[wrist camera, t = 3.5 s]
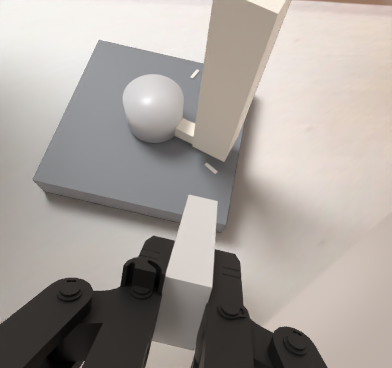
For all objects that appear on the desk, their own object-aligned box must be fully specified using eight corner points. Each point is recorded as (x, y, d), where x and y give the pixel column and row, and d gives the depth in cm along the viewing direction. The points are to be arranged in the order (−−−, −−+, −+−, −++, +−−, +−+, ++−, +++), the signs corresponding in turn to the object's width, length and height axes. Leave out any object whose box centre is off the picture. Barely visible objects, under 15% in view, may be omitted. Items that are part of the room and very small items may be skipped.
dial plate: (43, 191, 22) (31, 179, 20) (103, 58, 27) (98, 38, 25) (221, 232, 22) (226, 224, 20) (247, 91, 27) (253, 74, 25)
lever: (116, 127, 22) (64, -60, 11) (145, 89, 24) (125, -110, 13) (216, 177, 21) (269, 28, 10) (240, 134, 23) (307, -37, 12)
